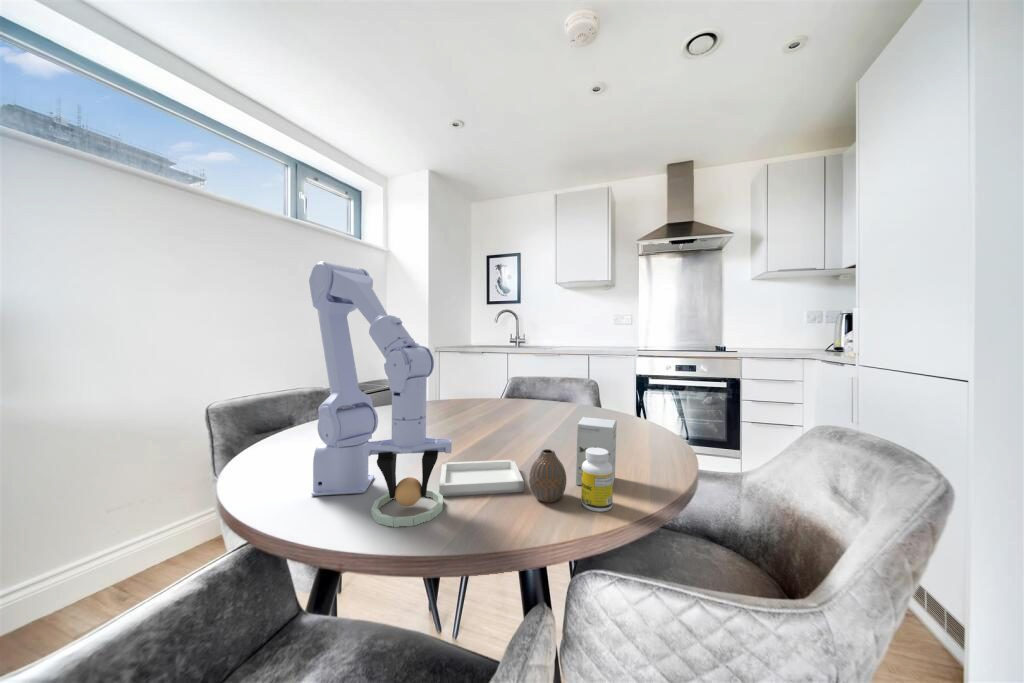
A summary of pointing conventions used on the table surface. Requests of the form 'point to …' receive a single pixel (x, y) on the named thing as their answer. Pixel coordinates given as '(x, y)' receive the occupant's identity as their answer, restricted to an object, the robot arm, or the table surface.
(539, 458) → the vase
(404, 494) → the ball
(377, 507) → the ring
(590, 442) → the supplement box
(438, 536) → the table surface
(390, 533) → the table surface
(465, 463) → the tray
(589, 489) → the supplement bottle
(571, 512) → the table surface
